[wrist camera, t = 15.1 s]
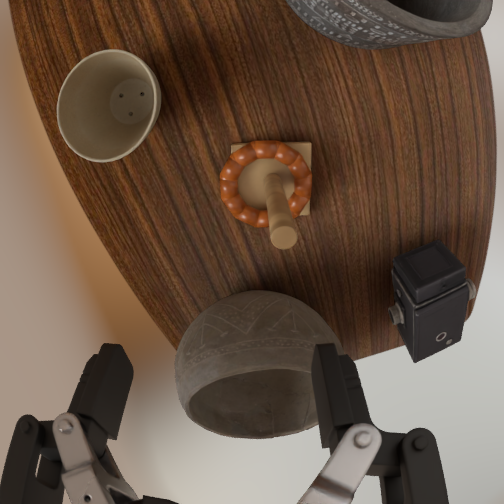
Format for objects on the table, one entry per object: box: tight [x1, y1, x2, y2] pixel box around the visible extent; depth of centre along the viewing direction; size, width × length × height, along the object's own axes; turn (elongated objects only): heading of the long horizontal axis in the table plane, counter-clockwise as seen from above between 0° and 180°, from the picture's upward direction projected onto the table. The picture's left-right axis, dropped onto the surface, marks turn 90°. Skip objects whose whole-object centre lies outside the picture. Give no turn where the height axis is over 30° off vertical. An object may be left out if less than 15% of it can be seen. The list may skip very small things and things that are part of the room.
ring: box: [220, 140, 312, 227], centre depth 29 cm, size 9×9×2 cm
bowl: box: [175, 290, 345, 439], centre depth 35 cm, size 21×21×15 cm
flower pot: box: [57, 49, 161, 162], centre depth 22 cm, size 10×10×7 cm
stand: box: [231, 142, 311, 249], centre depth 25 cm, size 8×8×13 cm
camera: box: [388, 240, 476, 363], centre depth 33 cm, size 11×11×15 cm
